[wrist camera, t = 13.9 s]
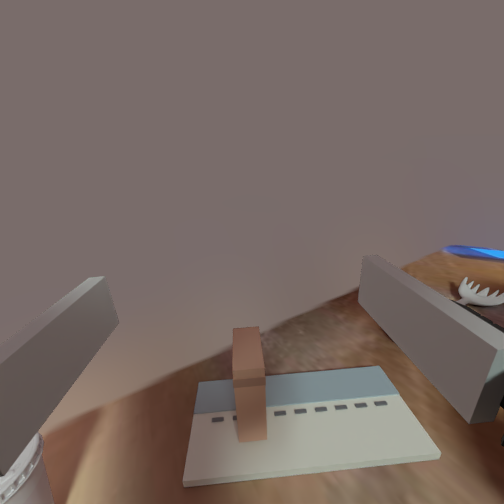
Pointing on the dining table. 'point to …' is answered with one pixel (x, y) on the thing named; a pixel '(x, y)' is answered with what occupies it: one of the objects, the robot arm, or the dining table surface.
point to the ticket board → (305, 428)
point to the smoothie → (27, 477)
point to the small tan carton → (249, 384)
